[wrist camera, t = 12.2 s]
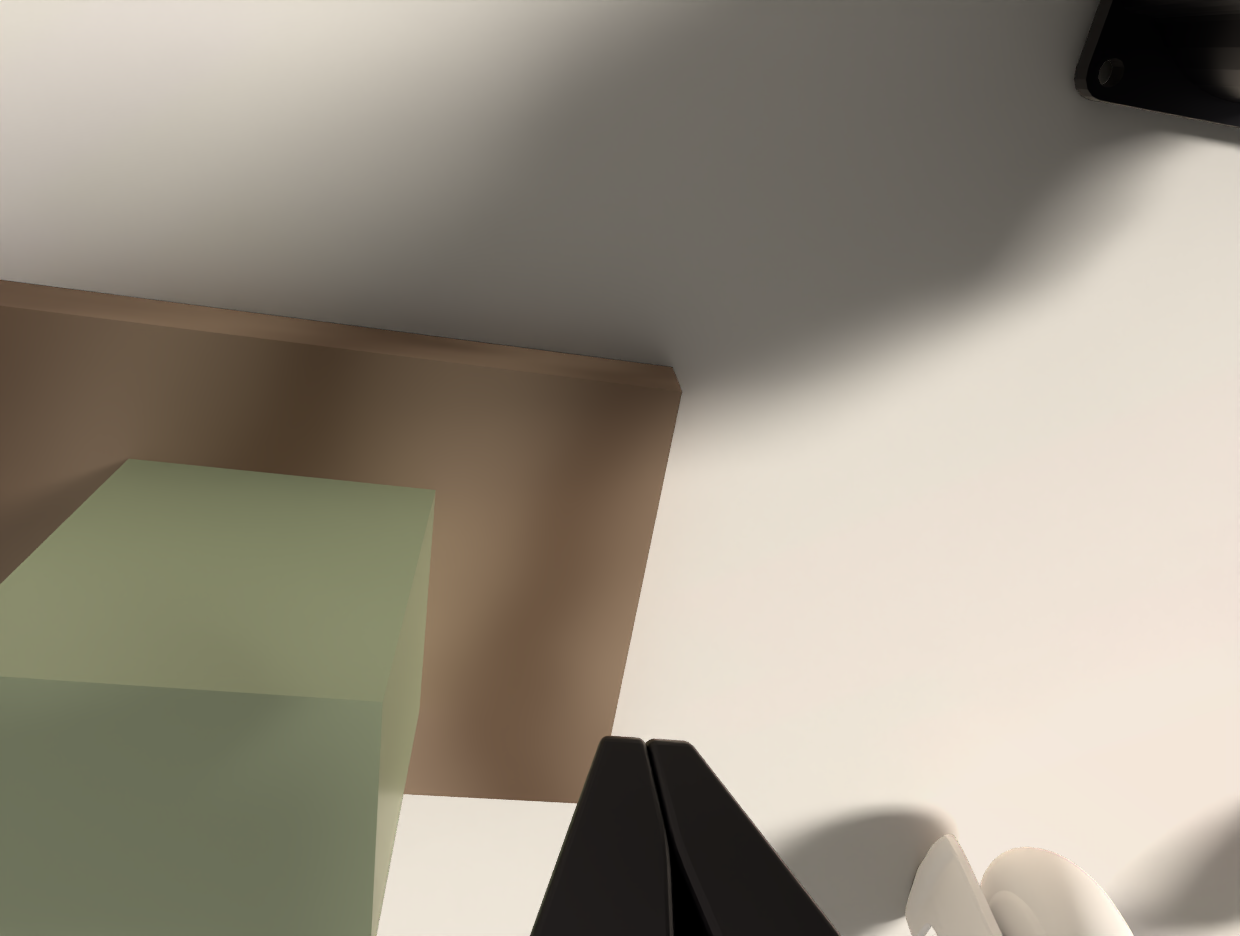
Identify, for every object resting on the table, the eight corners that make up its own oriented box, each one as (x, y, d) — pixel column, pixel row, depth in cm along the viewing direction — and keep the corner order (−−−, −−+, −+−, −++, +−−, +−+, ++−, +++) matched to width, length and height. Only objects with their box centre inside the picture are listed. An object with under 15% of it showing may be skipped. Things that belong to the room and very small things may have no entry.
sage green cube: (435, 489, 18) (382, 701, 12) (419, 710, 21) (369, 972, 15) (128, 458, 17) (-88, 670, 11) (152, 692, 20) (-14, 963, 14)
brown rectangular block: (672, 367, 19) (731, 513, 13) (593, 762, 24) (609, 998, 18) (-118, 264, 17) (-491, 384, 11) (-18, 725, 22) (-231, 981, 16)
